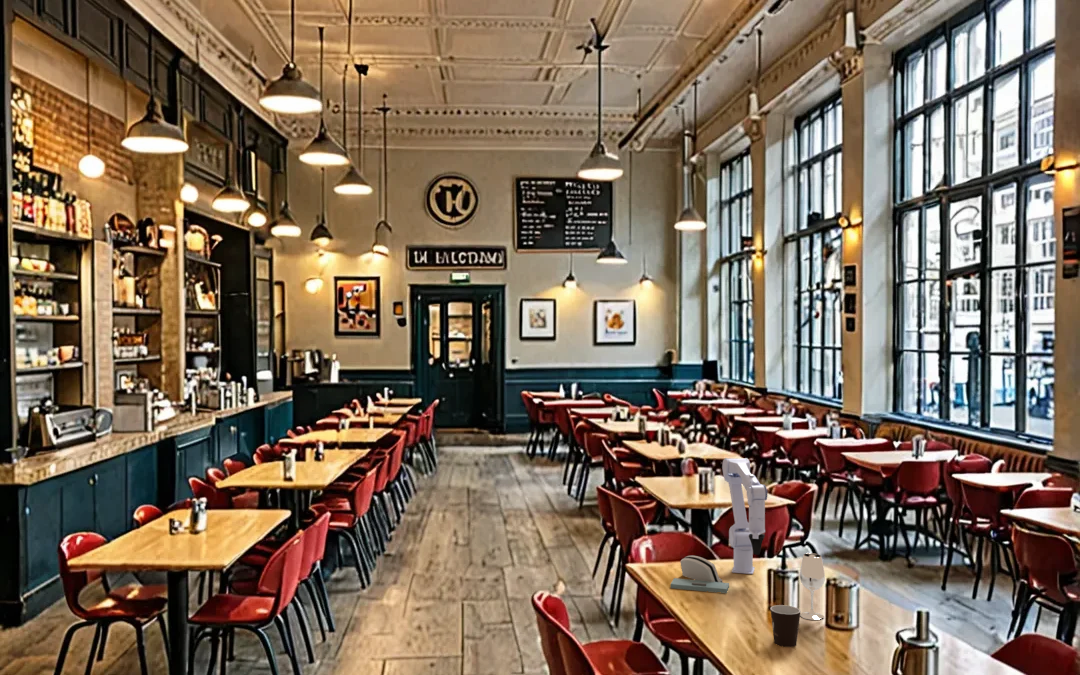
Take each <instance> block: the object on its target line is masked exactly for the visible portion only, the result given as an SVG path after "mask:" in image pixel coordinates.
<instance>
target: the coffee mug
mask: <svg viewBox="0 0 1080 675" xmlns="http://www.w3.org/2000/svg"><path fill="white" fill-rule="evenodd" d="M801 613H802V612H801V609H799V608H798V607H795V606H792V605H786V604H785V605H783V604H779V605H778V604H777V605H776V604H775V605H772V606H771V607H770V616H771V626H772V627H771V628H772V635H773V643H774V644H775V645H776V644H777V646H778V645H779V646H780V647H782V646H783V648H793V647H796V646H797V642H798V634H799V625H800V619H801V618H800V617H801V616H800V614H801Z"/></svg>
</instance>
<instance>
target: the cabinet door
mask: <svg viewBox="0 0 1080 675" xmlns="http://www.w3.org/2000/svg"><path fill="white" fill-rule="evenodd" d="M722 582H723V581H722ZM722 582H711V581H700V580H694V579H690V578H688V579H687V578H677V577H674V578H673V579H672V581H671V582H670V589H676V590H686V591H687V590H688V591H698V592H707V591H708V592H709V593H717V592H721V593H720V594H728V592H729V589H728V588H730V583H729V582H723V583H722ZM727 591H728V592H727Z"/></svg>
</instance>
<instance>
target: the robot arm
mask: <svg viewBox="0 0 1080 675" xmlns="http://www.w3.org/2000/svg"><path fill="white" fill-rule="evenodd" d="M721 468H722V474H723V478H724V481H725V482H726V483H727V484H728V487H729V491H730V492H729V493H730V500H731V506H732V513H733V519H734V523H733V525H731V526H730V528H729V530H728V541H729V545H730V547H731V548H733V567H732V569H731V573H736V574H745V575H746V574H749V575H754V572H755V566H754V564H753V562H754V560H753V559H754V558H753V555H755V556H756V555H757V556H759V555H760V554H761V551H762V550H761V549H762V544H763V541H764V539H765V536H766V535H765V533H766V514H765V513H766V501H767V500H768V488H767V486H766V485H765V484H761V483H760V481H759V479H758V478H757V477H756V475H755V474H752V473H751V462H750V460H749V459H748V457H745V458H742V457H741V458H738V457H737V458H727V457H725V458H724V459H723V460H722V466H721ZM742 486H743V487H744V490H745V491H746V498H747V505H748V516H747V511H746V505H745V498H744V497H745V496H744V494H743V492H744V491H743V487H742ZM747 517H748V519H747Z"/></svg>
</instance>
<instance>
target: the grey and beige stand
mask: <svg viewBox="0 0 1080 675" xmlns="http://www.w3.org/2000/svg"><path fill="white" fill-rule="evenodd" d="M679 563H680V566H681V572H682V574H681V575H682V576H683V577H685V578H688V579H690V580H700V581H711V582H722V583H724V582H723V579H722V578H720V576H719V573H718V571H717V568H716V566H715V564H714V563H712V562H711V561H710V560H708V559H706V558H704V557H701V556H698V555H687V556H685V557H684V558H682V559H681V560H680V562H679Z"/></svg>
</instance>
